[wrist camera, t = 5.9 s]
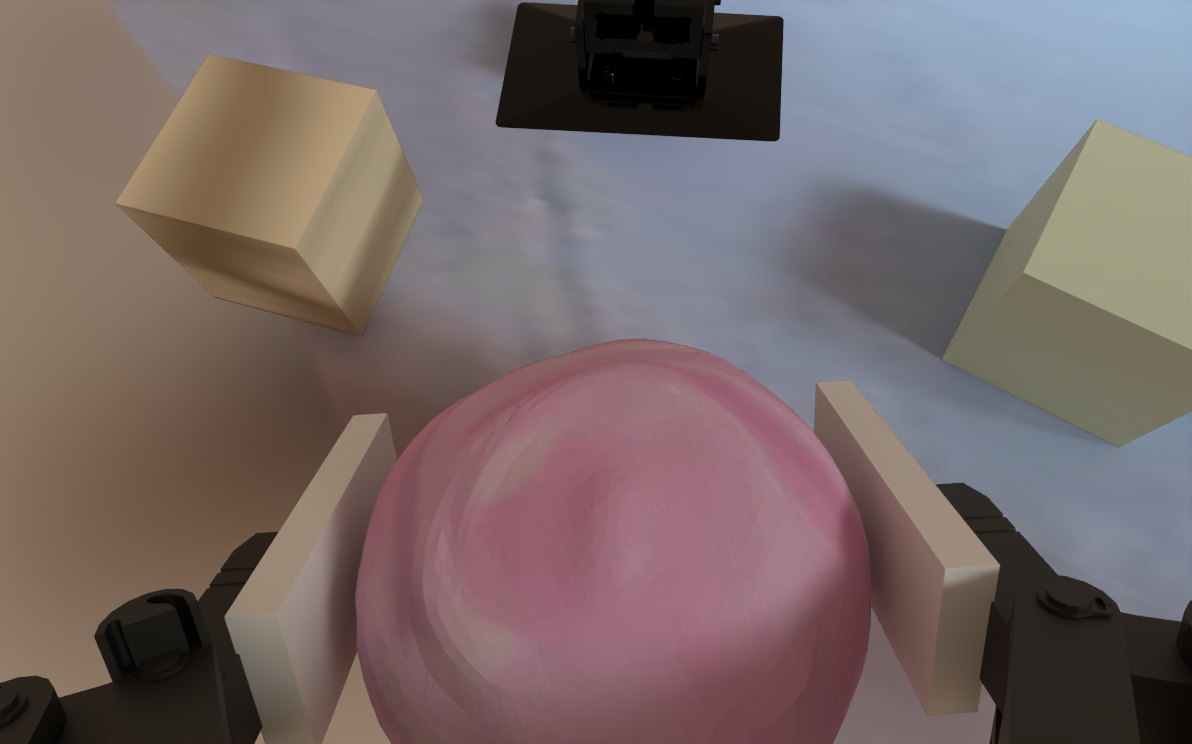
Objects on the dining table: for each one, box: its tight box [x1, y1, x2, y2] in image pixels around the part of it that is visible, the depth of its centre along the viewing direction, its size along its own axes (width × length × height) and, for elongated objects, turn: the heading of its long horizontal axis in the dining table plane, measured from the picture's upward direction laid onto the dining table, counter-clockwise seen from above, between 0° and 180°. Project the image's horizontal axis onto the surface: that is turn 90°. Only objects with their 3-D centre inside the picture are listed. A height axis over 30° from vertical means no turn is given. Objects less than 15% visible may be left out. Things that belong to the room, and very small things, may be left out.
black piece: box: [496, 0, 783, 141], centre depth 25 cm, size 12×7×5 cm, turn 84°
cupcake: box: [355, 339, 872, 744], centre depth 15 cm, size 9×9×10 cm
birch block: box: [115, 54, 423, 336], centre depth 22 cm, size 5×5×5 cm
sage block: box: [942, 119, 1192, 447], centre depth 20 cm, size 5×5×5 cm
